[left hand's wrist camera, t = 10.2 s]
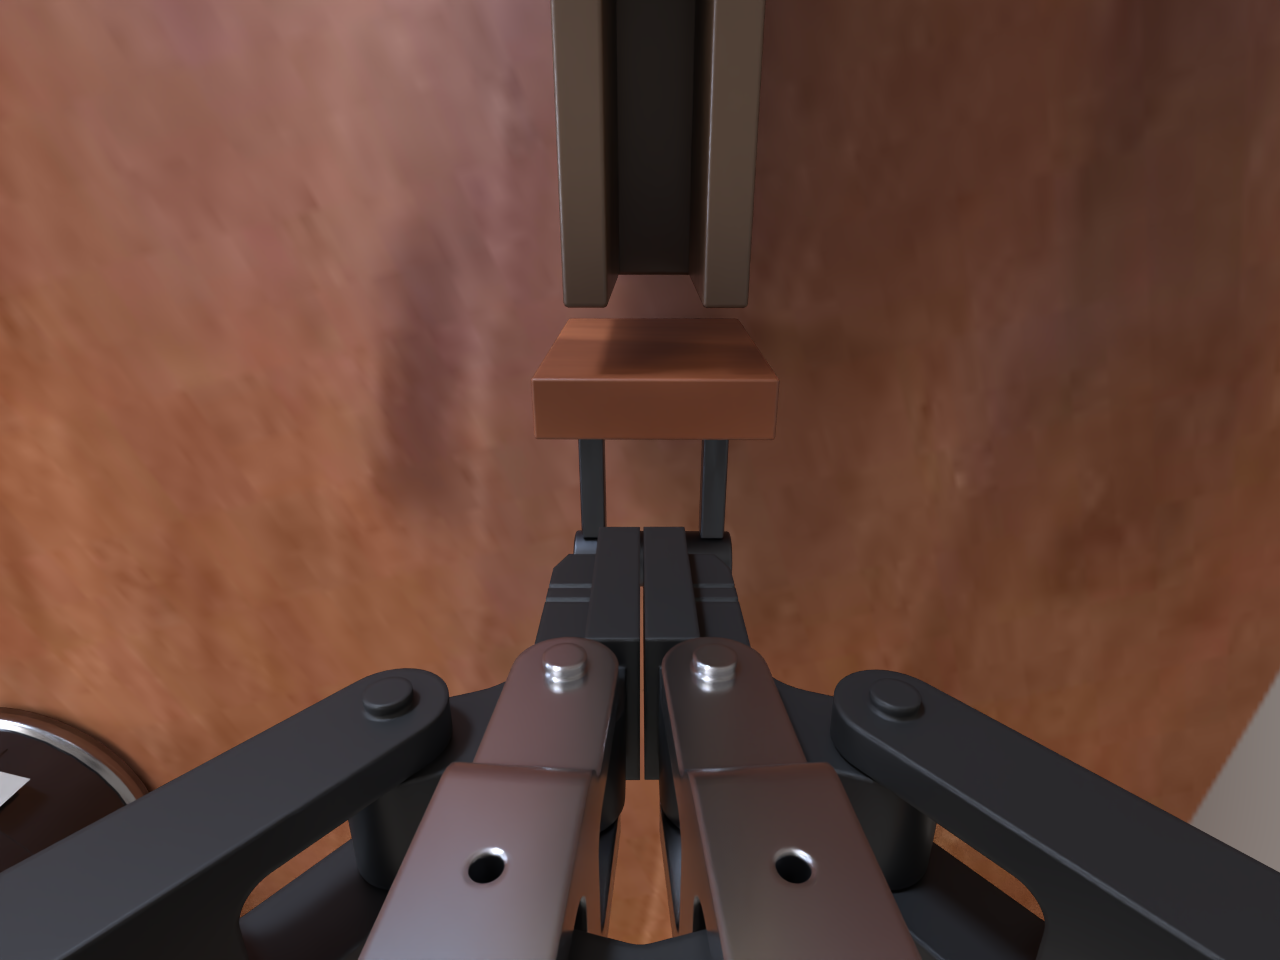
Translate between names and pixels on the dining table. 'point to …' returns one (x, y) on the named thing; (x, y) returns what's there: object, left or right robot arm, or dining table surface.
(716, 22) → the drawer
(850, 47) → the dining table surface
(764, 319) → the dining table surface
